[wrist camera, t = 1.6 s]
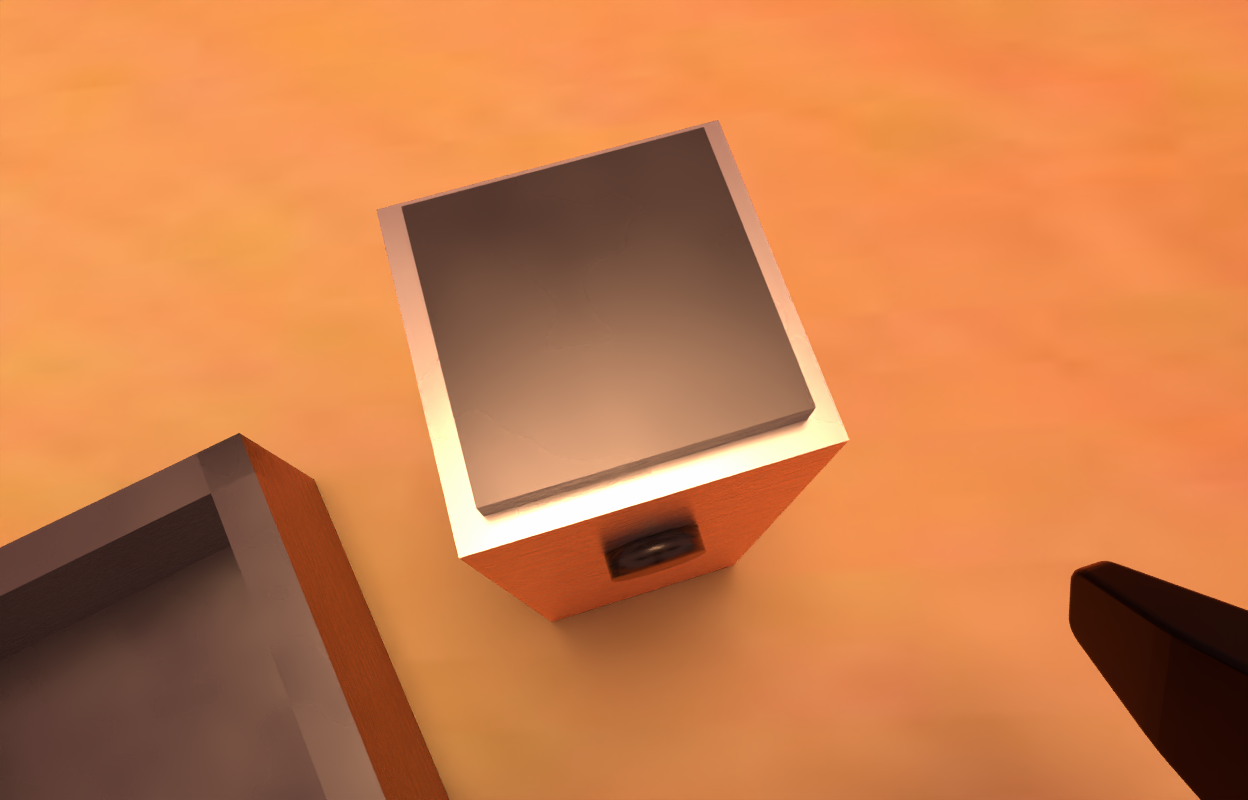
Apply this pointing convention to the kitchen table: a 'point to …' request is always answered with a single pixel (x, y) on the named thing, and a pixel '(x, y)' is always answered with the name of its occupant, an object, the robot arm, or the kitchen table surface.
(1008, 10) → the kitchen table surface
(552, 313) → the block
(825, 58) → the kitchen table surface
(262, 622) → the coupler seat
